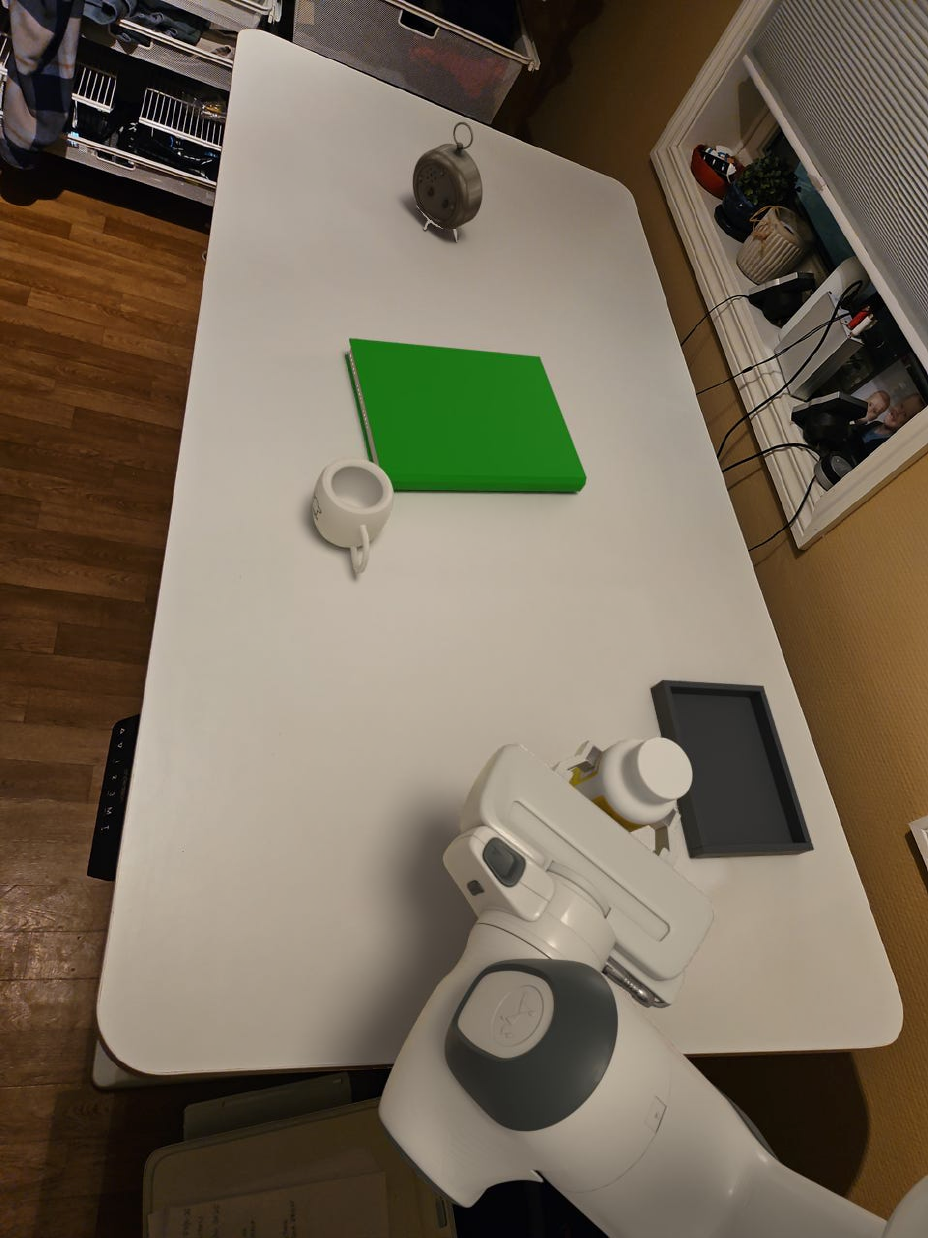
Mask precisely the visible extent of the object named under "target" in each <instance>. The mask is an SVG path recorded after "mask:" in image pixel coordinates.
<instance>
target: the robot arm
mask: <svg viewBox="0 0 928 1238" xmlns="http://www.w3.org/2000/svg"><path fill="white" fill-rule="evenodd" d="M602 751H603V750H601V749H600V748H599V747H598V746H596V745H595V744H594V743H593V742H592V741H590V740H589V739H588V740H587V741H585V742H584V743H582V744H581V745H580V746H579V747H578V748H577V750H576V752H575V753H574V755H573V756H570V757H569V758H567V759H564V760H562V761H560V762H558V763H556V764H555V765H553V766H552V767H550V766H549V765H547V764H546V763H545V762H544V761H542V759H540V758H539V757H538V756H536V755H535V753H533V752H531V751H530V750H529V749H528V748H527V747H526V746H525V745H523V744H521V743H519V742H513V743H507V744H504V745H502V746H500V747H499V748H498V749H497V750H496V751H494V753H493V754H491V756H490V757H489V758H488V760H487V761H486V763H485V764H484V766H483V767H482V769H481V770H480V772H479V774H478V775H477V777H476V779H475V781H474V783H473V785H472V786H471V788H470V790H469V792H468V795H467V796H466V798H465V801H464V803H463V805H462V807H461V811H460V814H459V823H458V824H459V830H460V833H461V834H459V835H458V836H457V837H456V838H454V839H453V841H452V842H451V843H450V844H449V845H448V846H447V848H446V849H445V850H444V853H443V855H442V862H443V864H444V867H445V868H446V870H447V871H448V874H450V876H451V878H452V879H453V881H454V882H455V883H456V885H457V887H458V888H459V890H460V891H461V893H462V894H463V895H464V898H465V899H466V901H467V902H468V903H469V906H470V907H471V908H472V909H473V912H474V914H475V915H476V917H477V918H478V919H477V920H476V921H475V924H474V925H473V926H472V928H471V930H470V933H469V935H468V938H467V942H466V946H465V949H464V952H463V953H462V955H461V957H460V959H459V961H458V963H457V964H456V965H455V967H453V968H452V970H451V971H450V972H449V973H447V975H446V976H444V977H443V978H442V979H441V981H440V982H439V983H438V984H437V985H436V987H435V989H434V990H433V992H432V993H431V995H430V997H429V998H428V1000H427V1002H426V1004H425V1005H424V1007H423V1008H422V1010H421V1012H420V1014H419V1015H418V1017H417V1019H416V1020H415V1023H414V1025H413V1026H412V1028H411V1030H410V1032H409V1033H408V1035H407V1037H406V1039H405V1040H404V1042H403V1043H404V1044H403V1045H402V1047H401V1049H400V1051H399V1053H398V1055H397V1057H396V1060H395V1061H394V1064H393V1066H392V1068H391V1071H390V1073H389V1076H388V1078H387V1080H386V1083H385V1084H384V1088H383V1091H382V1094H381V1097H380V1101H379V1104H378V1110H377V1113H378V1117H379V1121H380V1123H381V1125H380V1126H381V1129H382V1130H383V1132H384V1134H385V1136H386V1138H387V1141H389V1143H390V1145H391V1146H392V1148H394V1150H395V1151H396V1152H397V1154H398V1155H399V1156H400V1158H401V1159H402V1160H403V1161H405V1162H406V1163H407V1164H408V1165H409V1166H410V1167H411V1169H412V1170H413V1172H414V1173H415V1174H416V1175H417V1176H418V1177H419V1178H420V1179H421V1180H422V1181H423V1182H424V1183H426V1184H427V1186H429V1187H430V1188H431V1189H432V1190H433V1191H435V1192H436V1193H437V1194H438V1195H439V1196H441V1197H442V1198H443V1199H445V1200H446V1201H448V1202H450V1203H451V1204H453V1205H457V1206H460V1207H461V1208H472V1206H474V1205H475V1204H476V1203H477V1202H478V1201H479V1199H480V1198H481V1197H482V1195H483V1194H484V1193H485V1192H486V1190H487V1189H489V1188H491V1187H492V1186H495V1185H498V1184H501V1183H506V1182H512V1181H533V1182H539V1183H544V1179H545V1180H546V1181H547V1182H548V1183H550V1184H551V1185H552V1186H553V1187H554V1189H556V1190H557V1191H558V1192H560V1193H561V1195H563V1197H565V1198H566V1199H567V1200H568V1201H569V1202H570V1203H571V1204H572V1205H574V1206H575V1207H576V1208H577V1209H578V1210H579V1211H580V1212H581V1213H582V1214H584V1216H586V1217H587V1218H588V1219H589V1220H590V1221H591V1222H592V1223H593V1224H594V1225H595V1226H597V1228H599V1229H600V1230H601V1231H602V1232H603V1233H604V1234H605V1235H607V1237H608V1238H928V1174H926V1175H925V1176H924V1177H923V1178H921V1179H920V1180H919V1181H918V1182H916V1183H915V1184H914V1185H912V1187H911V1188H910V1189H909V1190H908V1191H907V1192H906V1194H905V1195H904V1196H903V1197H902V1198H901V1200H900V1201H899V1202H898V1204H897V1205H896V1206H895V1208H894V1210H893V1212H892V1213H891V1215H890V1216H889V1218H888V1219H887V1220H886V1219H884V1218H882V1217H880V1216H878V1215H876V1214H874V1213H873V1212H871V1211H869V1210H867V1209H865V1208H863V1207H861V1206H859V1205H858V1204H856V1203H854V1202H853V1201H850V1200H848V1199H846V1198H845V1197H843V1196H841V1195H839V1194H837V1193H835V1192H833V1191H831V1190H829V1189H828V1188H826V1187H824V1186H822V1185H820V1184H818V1183H817V1182H815V1181H812V1180H811V1179H809V1178H807V1177H805V1176H803V1175H801V1174H800V1173H797V1172H796V1171H794V1170H792V1169H791V1168H788V1167H787V1166H785V1165H784V1164H783V1162H781V1161H780V1159H779V1158H778V1157H777V1155H776V1154H775V1152H774V1151H773V1150H772V1148H771V1146H770V1145H769V1143H768V1142H767V1140H766V1139H765V1138H764V1136H763V1135H762V1133H761V1132H760V1130H759V1129H758V1127H757V1126H756V1125H755V1124H754V1122H753V1121H752V1120H751V1118H750V1117H749V1116H748V1115H747V1114H746V1113H745V1112H744V1111H743V1110H742V1108H740V1106H738V1105H737V1104H736V1103H735V1102H733V1100H732V1099H730V1098H729V1097H728V1096H727V1095H726V1094H725V1093H724V1092H723V1091H721V1090H720V1089H719V1088H718V1086H716V1085H714V1084H713V1083H711V1081H709V1080H708V1079H707V1077H705V1075H704V1074H703V1073H702V1072H701V1071H700V1070H699V1069H698V1068H697V1067H696V1066H695V1065H694V1064H693V1063H692V1062H691V1061H690V1060H689V1059H688V1058H687V1056H685V1055H684V1053H682V1051H681V1050H679V1048H678V1047H677V1046H675V1044H674V1043H673V1042H672V1041H671V1040H670V1039H669V1038H668V1037H667V1036H666V1035H665V1034H664V1033H663V1032H662V1031H661V1030H660V1029H659V1028H658V1027H657V1026H656V1024H655V1023H653V1021H652V1020H651V1019H650V1018H649V1017H648V1016H647V1015H646V1014H645V1013H644V1012H643V1010H642V1009H640V1008H639V1006H638V1005H636V1004H635V1002H637V1003H638V1004H639V1005H641V1006H642V1007H645V1008H647V1009H649V1008H651V1007H653V1008H656V1009H664V1008H668V1007H669V1006H671V1005H672V1004H673V1003H674V1002H675V1001H676V1000H677V998H678V995H679V993H680V992H681V988H682V986H683V984H684V982H685V976H686V975H685V974H686V971H685V970H686V969H687V968H688V966H689V965H690V963H691V962H692V960H693V959H694V957H695V955H696V954H697V952H698V951H699V949H700V947H702V944H703V942H704V941H705V939H706V937H707V935H708V933H709V931H710V929H711V927H712V925H713V922H714V920H715V913H714V907H713V906H714V905H713V903H712V902H713V901H712V900H711V897H709V896H708V895H707V894H706V893H704V892H703V891H702V890H701V889H700V888H698V887H697V886H696V885H694V884H693V883H692V882H691V881H690V880H689V879H687V878H686V877H685V876H684V875H683V874H681V873H680V872H679V871H677V870H676V869H675V868H674V867H675V865H676V862H677V861H678V859H679V858H678V857H679V855H678V847H677V837H676V832H675V831H676V828H677V826H678V824H679V821H681V815H680V813H679V811H676V809H674V808H673V809H672V811H671V812H670V813H669V814H668V815H667V816H666V817H665V818H663V819H662V820H660V821H658V822H655V823H653V824H650V825H648V826H649V827H650V828H651V829H653V830H654V850H652V849H650V848H649V847H648V846H647V845H645V844H644V843H643V842H642V841H641V840H639V839H638V838H637V837H635V835H633V834H632V832H630V833H629V832H628V831H627V830H626V829H624V828H623V827H622V826H621V825H620V824H618V823H617V822H616V821H615V820H613V819H612V818H611V817H610V816H609V815H607V814H606V813H605V812H604V811H602V810H601V809H600V808H599V807H598V806H596V805H595V804H594V803H593V802H591V801H590V800H589V799H588V798H587V797H585V796H584V795H583V794H582V793H580V792H579V791H578V790H577V789H575V788H574V787H573V786H572V785H571V784H569V781H570V779H571V778H572V776H573V772H571V770H573V769H574V768H576V767H578V768H579V769H580V770H582V771H583V772H584V773H585V772H587V771H588V770H589V769H592V768H593V767H595V765H596V763H597V761H598V758H599V757H600V755H601V754H602V753H603V752H602ZM620 988H622V989H623V990H624V991H626V992H627V994H629V995H630V996H631V997H632V999H633V1000H634V1001H635V1002H634V1001H633V1000H632V999H631V998H629V996H628V995H626V994H625V992H624V991H623V990H622V989H620ZM538 1173H539V1174H540V1175H539V1174H538ZM541 1176H542V1177H541ZM543 1177H544V1179H543Z"/></svg>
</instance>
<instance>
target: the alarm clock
mask: <svg viewBox="0 0 928 1238" xmlns="http://www.w3.org/2000/svg"><path fill="white" fill-rule="evenodd" d="M461 125H463V126H465V127H467V128H468V130H469V132H470V142H469V144H468V145H466V146H464V143H462V142H461V141H460V142H459V141H458V140H457V138H456V137H457V136H456V130H457V129H458V127H459V126H461ZM452 135H453V136H452V137H453V141H454V142H455V144H454V143H444V144H441V145H439V146H437V147H435V148H431V149H429V150H427V151H426V152H423V154H422V155H421V156H420V157H419V158H418V160H417V162H416V163H415V166H414V168H413V174H412V192H413V197H414V200H415V203H416V205H417V206H418V207H419V208H420V210H421V211H422V212H423V213H424V214H425V215H426V216H427V217H428V218H429V219H430V220H432V221H433V222H434V223H435V224H437V225H438V226H440V227H441V228H443V229H445V230H444V231H453V229H456V228H457V229H458V228H460V227H461V226H463V225H465V224H467V223H470V222H471V221H472V220H473V219H475V217H476V216H477V214H478V213H479V211H480V209H481V206H482V202H483V190H484V189H483V181H482V176H481V174H480V171H479V168H478V166H477V164H476V161H475V160H474V159H473V157H472V156H471V155H470V154H469V152H468V151H466V149H468V148H470V147H471V145H472V144H473V141H474V133H473V129H472V127H471V126H470V125H469V123H467V122H466V121H459V122H457V123H456V124H455V125H454V127H453V131H452ZM420 210H419V211H420ZM421 211H420V212H421Z"/></svg>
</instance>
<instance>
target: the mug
mask: <svg viewBox="0 0 928 1238" xmlns="http://www.w3.org/2000/svg"><path fill="white" fill-rule="evenodd" d="M394 500H395V493H394V489H393V487H392V484H391V481H390V479H389V477H388V476H387V475H386V473H385V472H384V471H383V470H382V469H381V468H380V467H378V466H377V465H375V464H374V463H372V462H370V460H369V459H368V460H367V459H365V458H360V457H355V456H346V457H341V458H337V459H336V460H333V461H332V462H330V463H329V464H328V465H326V466H325V468H324V469H322V471H321V473H320V474H319V476H318V478H317V480H316V483H315V485H314V489H313V494H312V501H311V502H312V503H311V508H312V509H311V510H312V517H313V521H314V524H315V526H316V528H317V530H318V532H319V533H320V535H321V536H322V537H323V538H324V539H325V540H326V541H328V542H329V543H331V544H333V545H335V546H337V547H341V548H347V549H348V548H349V549H350V557H351V563H352V566H353V569H354V572H355V573H358V574H363V573H364V572H365V571H366V569H367V567H368V564H369V559H370V550H371V549H370V545H371V543H370V542H371V541H372V540H374V539H375V538H376V537H377V536H378V535H379V534H380V533H381V532H382V530H383V529H384V527H385V526H386V524H387V522H388V520H389V517H390V515H391V512H392V509H393V504H394ZM358 547H362V555H361V560H360V561H361V562H360V563H359V557H358Z"/></svg>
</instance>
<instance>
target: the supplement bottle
mask: <svg viewBox="0 0 928 1238" xmlns="http://www.w3.org/2000/svg"><path fill="white" fill-rule="evenodd" d="M601 751H602V752H603V753H602V754H601V755H600V757H599V758H598V761H597V763H596V765H595V767H593V768H592V769H589V770H588V771H587V772H585V773H584V772H583V771H582V770H580V769H579V768H578V767H575V768H573V769H571V770H570V771H571V772H573V776H572V778H571V779H570V781H569V784H571V785H572V786H573V787H574V788H575V789H577V790H578V791H579V792H580V793H582V794H583V795H584V796H585V797H587V798H588V799H589V800H590V801H591V802H593V803H594V804H595V805H596V806H598V807H599V808H600V809H601V810H602V811H604V812H605V813H606V814H607V815H609V816H610V817H611V818H612V819H613V820H615V821H616V822H617V823H618V824H620V825H621V826H622V827H623V828H624V829H626V830H627V831H628V832H629V833H632V832H635V831H637V830H640V829H643V828H645V827H648V826H649V825H650V824H653V823H655V822H658V821H660V820H662V819H663V818H665V817H666V816H667V815H668V814H669V813H670V812H671V811H672V809H674V808H675V806H676V805H677V799H678V798H680V797H682V796H683V795H684V794H686V793H687V791H688V790H689V788H690V786H691V783H692V768H691V764H690V761H689V759H688V757H687V756H686V754H685V753H684V751H683V750H682V749H681V748H680V747H679V746H678V745H677V744H676V743H674V742H673V741H671V740H669V739H666V738H662V736H661V737H660V736H657V737H656V736H655V737H650V738H648V739H646V740H644V739H639V738H626V739H622V740H619V741H617V742H616V743H614V744H612V745H610V746H609V747H607V748H606V749H604V750H601Z"/></svg>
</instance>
